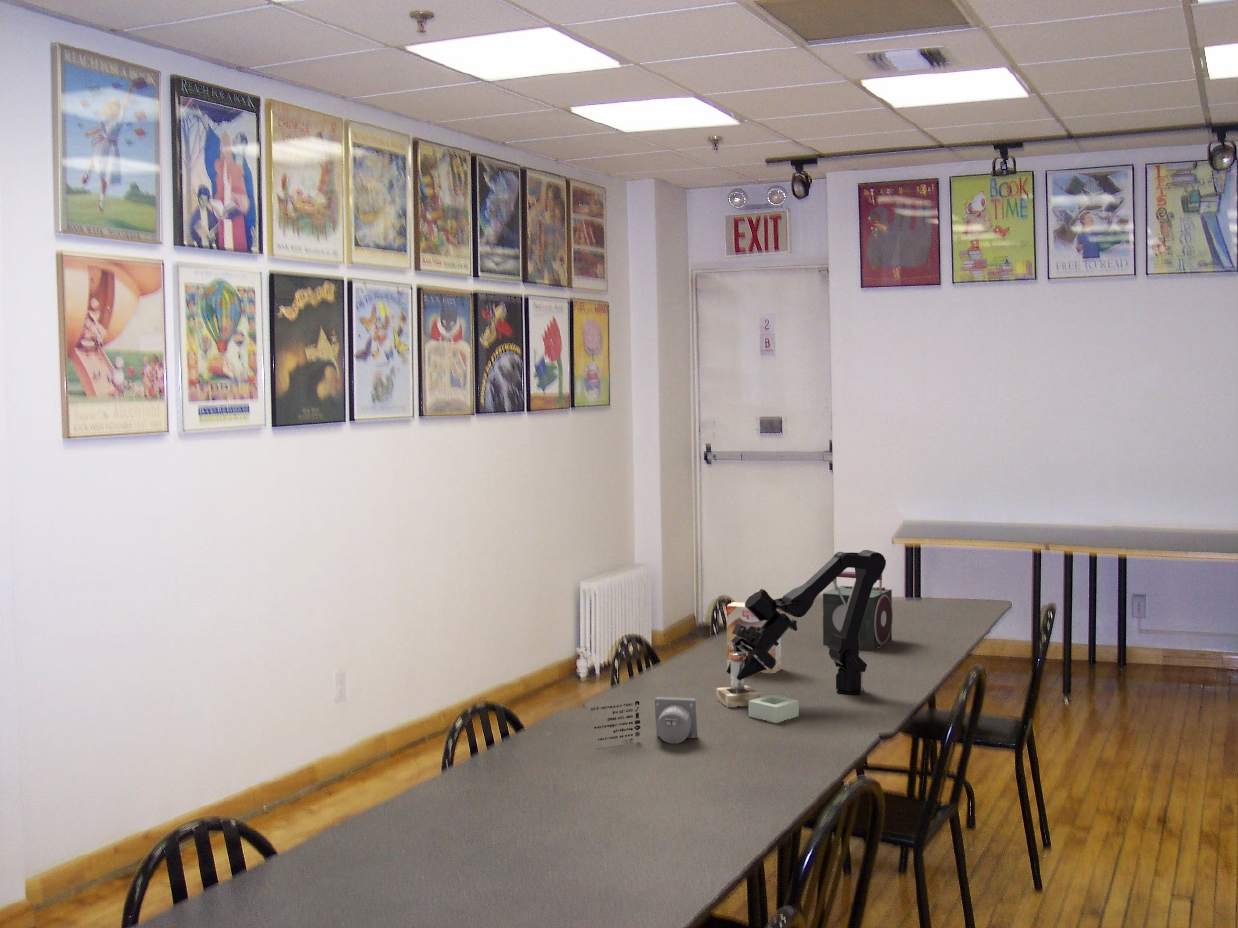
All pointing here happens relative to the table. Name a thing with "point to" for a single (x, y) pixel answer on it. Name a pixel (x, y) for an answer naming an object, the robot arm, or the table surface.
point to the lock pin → (737, 671)
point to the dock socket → (773, 708)
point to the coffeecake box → (745, 617)
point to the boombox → (875, 619)
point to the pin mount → (736, 696)
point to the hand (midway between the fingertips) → (732, 675)
